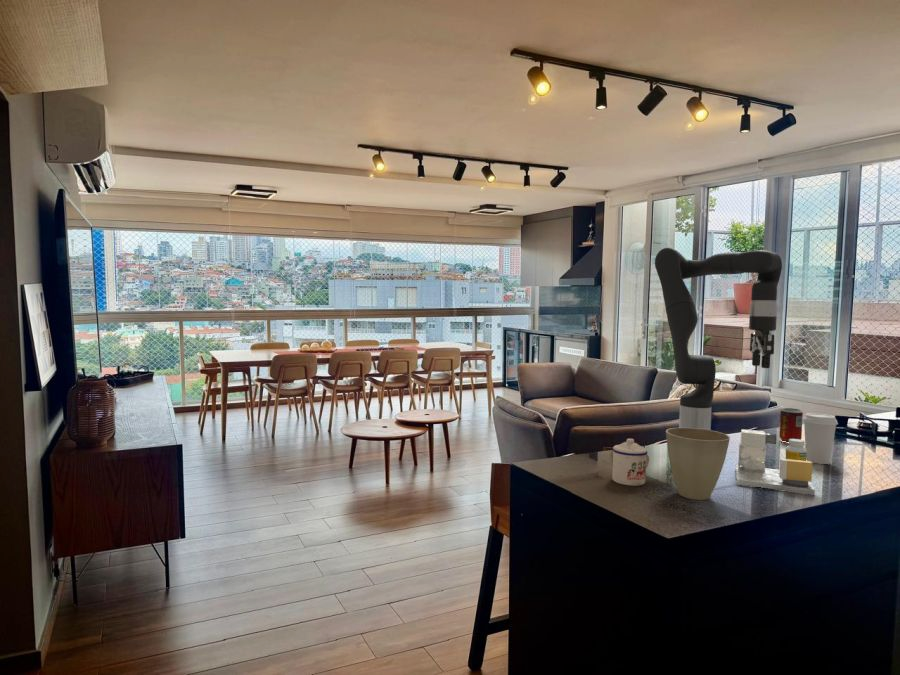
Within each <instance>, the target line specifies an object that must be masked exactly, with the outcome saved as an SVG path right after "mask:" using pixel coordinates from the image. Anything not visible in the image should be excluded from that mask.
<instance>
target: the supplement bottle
mask: <svg viewBox="0 0 900 675" xmlns="http://www.w3.org/2000/svg"><path fill="white" fill-rule="evenodd" d="M804 446H805V439H804V440H803V439H801V440H799V439H789V443H788V445H787V446H786V448H785V459H790V460H801V461H806V457H807V450H806V449H805V447H804Z"/></svg>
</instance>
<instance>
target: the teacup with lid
mask: <svg viewBox="0 0 900 675" xmlns="http://www.w3.org/2000/svg"><path fill="white" fill-rule="evenodd" d="M612 452H613V455H612V481H614V482H615V483H616V484H620V485H624V486H631V487H634V486H636V487H637V486H643V485H644V484H645V483H646V479H647V478H646V477H647V476H646V475H647V474H646V473H647V468H648V466H649V465H650V464H649V463H650V456H649V455H648V449H647V448H645V447H644V446H641V445H640V444H638V443H636V442H635V439H634V438H627V439H626V441H624V442H622V443H620V444H615V445H614V446H613V447H612Z"/></svg>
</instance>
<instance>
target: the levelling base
mask: <svg viewBox="0 0 900 675" xmlns="http://www.w3.org/2000/svg"><path fill="white" fill-rule="evenodd" d="M740 431H741V433H740V443H739V444H738V462H737V464H735V475H736V476H735V478H736V479H737V480H736V485H737V486H740V485H742V486H741V487H747V486H752V487H751V488H755V487H761V488H760V489H762V488H771V489H777V490H776V491H778V490H785V491H790V492H789V493H793V492H796V493H795V494H800V493H804V494H803V495H808V494H811V495H810V496H815V494H816V493H815V492H816V490H815V487H814V486H813V484H812V481H811V482H808V486H793V485H789V484H786V483H783V482H782V479H781V478H780V477H779V474H780V469H776V468H767V467H766V464H767V463H766V462H767V446H766V444H771V445H777V434H775V433H766V432H765V431H763V430H761V431H760V430H753V429H744V428H743V429H741V430H740ZM785 491H784V492H785Z"/></svg>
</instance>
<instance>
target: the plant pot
mask: <svg viewBox="0 0 900 675" xmlns="http://www.w3.org/2000/svg"><path fill="white" fill-rule="evenodd" d="M665 437H666V438H665V439H666V446H667V447H666V448H667V452H668V453H667V454H668V459H669V464H670V465H669V466H670V469H671V473H672V477H673V480H674V484H675V487H676V490H677V493H678V494H679V496H681V497H683V498H685V499H689V500H695V501H705V500H708V499H710V498H711V496H712V494H713V493H714V490H715V488H716V485H717V483H718V480H719V478H720V476H721V472H722V470H723V467H724V463H725V461H726V457H727V452H728V449H729V444H730V439H731V437H730V436H729V435H728V434H726V433H723V432H720V431H716V430H712V429H711V430H706V429H698V428H679V427H672V428H671V427H670V428H667V429H665Z"/></svg>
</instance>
